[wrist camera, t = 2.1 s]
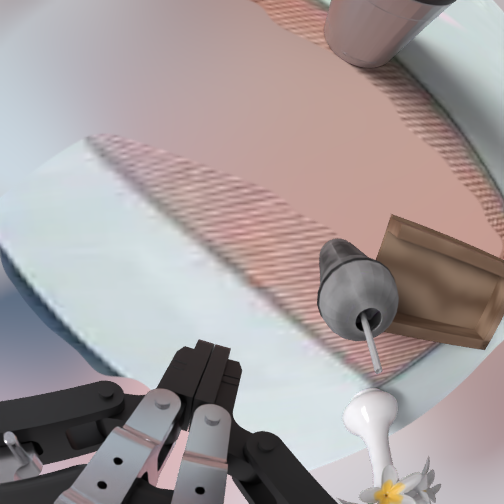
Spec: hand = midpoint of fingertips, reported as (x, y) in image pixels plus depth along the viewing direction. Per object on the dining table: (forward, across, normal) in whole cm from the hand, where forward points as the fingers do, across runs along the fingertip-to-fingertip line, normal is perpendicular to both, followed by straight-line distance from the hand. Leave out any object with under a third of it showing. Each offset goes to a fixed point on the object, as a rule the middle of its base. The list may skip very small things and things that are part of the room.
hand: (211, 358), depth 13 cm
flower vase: (+24, -25, +22) cm, 41 cm away
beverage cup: (+24, -10, 0) cm, 26 cm away
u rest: (+24, -27, 0) cm, 36 cm away
